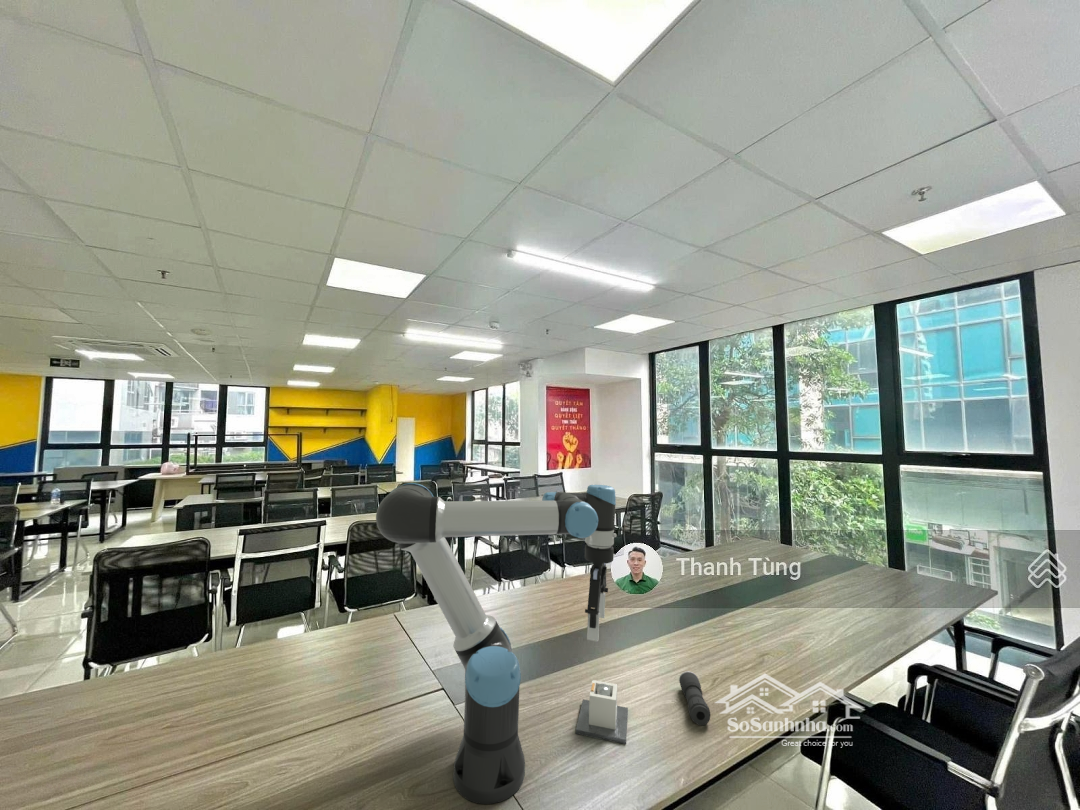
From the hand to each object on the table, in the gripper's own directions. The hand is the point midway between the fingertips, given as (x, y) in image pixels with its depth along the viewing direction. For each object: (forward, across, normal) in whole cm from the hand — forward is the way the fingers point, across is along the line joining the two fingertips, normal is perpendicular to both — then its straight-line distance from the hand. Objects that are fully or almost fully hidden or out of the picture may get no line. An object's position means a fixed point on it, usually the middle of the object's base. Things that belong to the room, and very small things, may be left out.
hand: (596, 627), depth 108 cm
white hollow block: (+22, 0, -3) cm, 22 cm away
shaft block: (+23, 0, -3) cm, 23 cm away
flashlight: (+23, +14, -26) cm, 37 cm away
